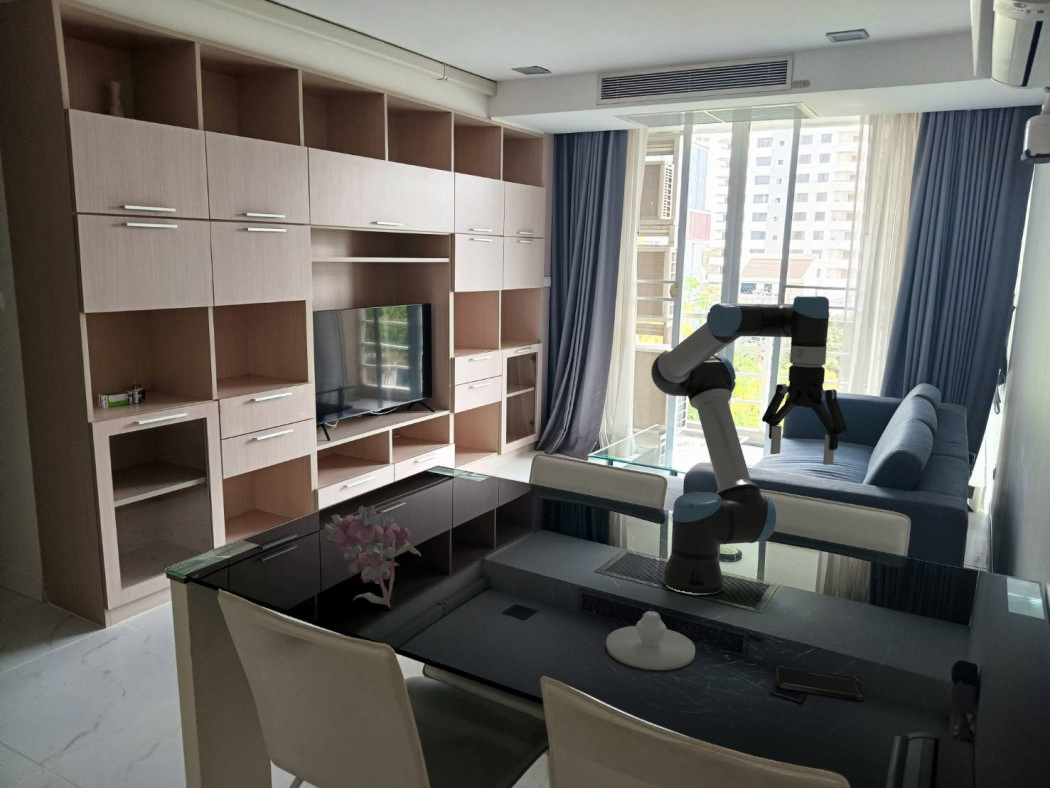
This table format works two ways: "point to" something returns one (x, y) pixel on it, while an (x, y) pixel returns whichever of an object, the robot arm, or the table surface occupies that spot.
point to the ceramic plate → (650, 650)
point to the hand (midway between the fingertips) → (800, 458)
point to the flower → (371, 546)
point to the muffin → (651, 629)
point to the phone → (818, 683)
